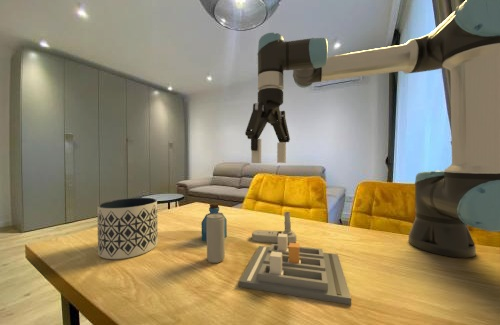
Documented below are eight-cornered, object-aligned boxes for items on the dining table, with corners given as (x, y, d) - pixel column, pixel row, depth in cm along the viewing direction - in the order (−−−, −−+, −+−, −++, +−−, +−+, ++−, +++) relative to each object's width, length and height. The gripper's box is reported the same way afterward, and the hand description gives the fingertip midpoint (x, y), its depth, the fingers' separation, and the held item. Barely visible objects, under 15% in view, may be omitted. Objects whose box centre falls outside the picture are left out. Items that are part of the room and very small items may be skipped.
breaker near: (283, 274, 47) (283, 252, 47) (282, 280, 45) (282, 257, 45) (270, 272, 48) (270, 251, 48) (268, 278, 46) (268, 255, 46)
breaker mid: (300, 263, 52) (300, 243, 52) (300, 268, 50) (300, 247, 50) (288, 262, 53) (288, 242, 53) (287, 267, 50) (287, 246, 50)
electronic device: (253, 209, 76) (295, 210, 71) (254, 236, 76) (297, 239, 72) (249, 213, 70) (294, 214, 66) (250, 242, 71) (296, 245, 66)
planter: (166, 247, 65) (165, 201, 65) (106, 267, 54) (105, 211, 54) (146, 235, 76) (145, 196, 76) (92, 249, 65) (91, 202, 65)
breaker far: (288, 252, 59) (288, 234, 59) (287, 255, 56) (287, 237, 56) (277, 250, 59) (277, 233, 59) (276, 254, 57) (276, 236, 57)
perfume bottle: (201, 240, 71) (201, 205, 71) (211, 234, 77) (211, 201, 77) (217, 243, 69) (217, 206, 68) (226, 236, 74) (226, 203, 74)
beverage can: (209, 265, 54) (209, 219, 54) (204, 258, 58) (204, 214, 58) (227, 261, 56) (227, 216, 56) (221, 254, 61) (220, 212, 60)
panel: (337, 258, 57) (337, 248, 57) (351, 304, 39) (351, 290, 39) (259, 249, 63) (259, 240, 63) (238, 286, 45) (238, 274, 45)
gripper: (280, 102, 74) (280, 162, 74) (232, 81, 55) (231, 163, 55) (300, 98, 70) (299, 162, 70) (255, 74, 50) (254, 163, 50)
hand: (269, 163), depth 62 cm, fingers open, 13 cm apart
